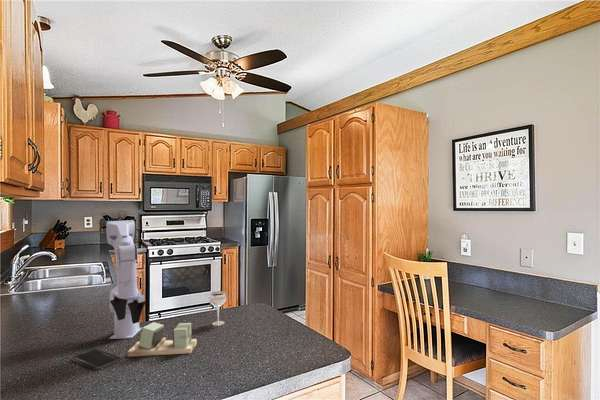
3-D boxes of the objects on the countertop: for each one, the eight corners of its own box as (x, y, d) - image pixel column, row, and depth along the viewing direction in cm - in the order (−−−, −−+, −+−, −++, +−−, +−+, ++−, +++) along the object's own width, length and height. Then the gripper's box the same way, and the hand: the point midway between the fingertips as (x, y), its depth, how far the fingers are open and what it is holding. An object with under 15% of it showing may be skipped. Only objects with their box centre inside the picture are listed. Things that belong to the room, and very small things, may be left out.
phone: (96, 368, 102) (70, 357, 110) (96, 372, 102) (71, 360, 110) (122, 357, 109) (96, 347, 117) (122, 361, 109) (96, 351, 117)
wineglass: (214, 327, 135) (213, 296, 135) (206, 323, 140) (206, 293, 140) (230, 323, 139) (229, 293, 139) (222, 319, 144) (221, 290, 144)
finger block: (138, 345, 113) (142, 327, 113) (149, 339, 119) (153, 321, 119) (151, 349, 112) (155, 331, 112) (161, 342, 118) (165, 325, 118)
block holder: (137, 346, 119) (137, 324, 119) (196, 343, 120) (196, 321, 120) (127, 356, 111) (126, 333, 111) (190, 353, 112) (190, 330, 112)
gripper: (152, 280, 117) (153, 320, 117) (124, 276, 124) (125, 314, 124) (133, 284, 111) (134, 327, 111) (105, 280, 118) (106, 320, 118)
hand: (128, 321), depth 117 cm, fingers open, 7 cm apart
